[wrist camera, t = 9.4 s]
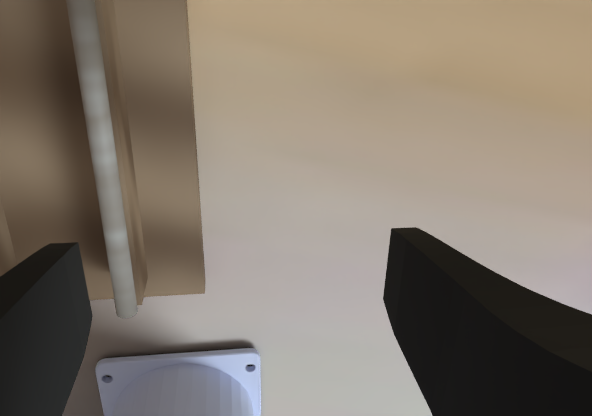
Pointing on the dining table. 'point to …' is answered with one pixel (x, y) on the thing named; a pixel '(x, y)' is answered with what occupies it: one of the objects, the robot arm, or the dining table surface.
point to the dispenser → (101, 143)
